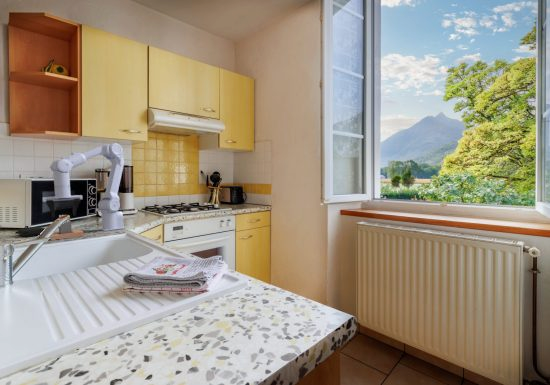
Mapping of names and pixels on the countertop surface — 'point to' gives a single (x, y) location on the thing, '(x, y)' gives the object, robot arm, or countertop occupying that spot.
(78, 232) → the socket plate
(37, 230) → the carrying case or bag
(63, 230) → the charger block
